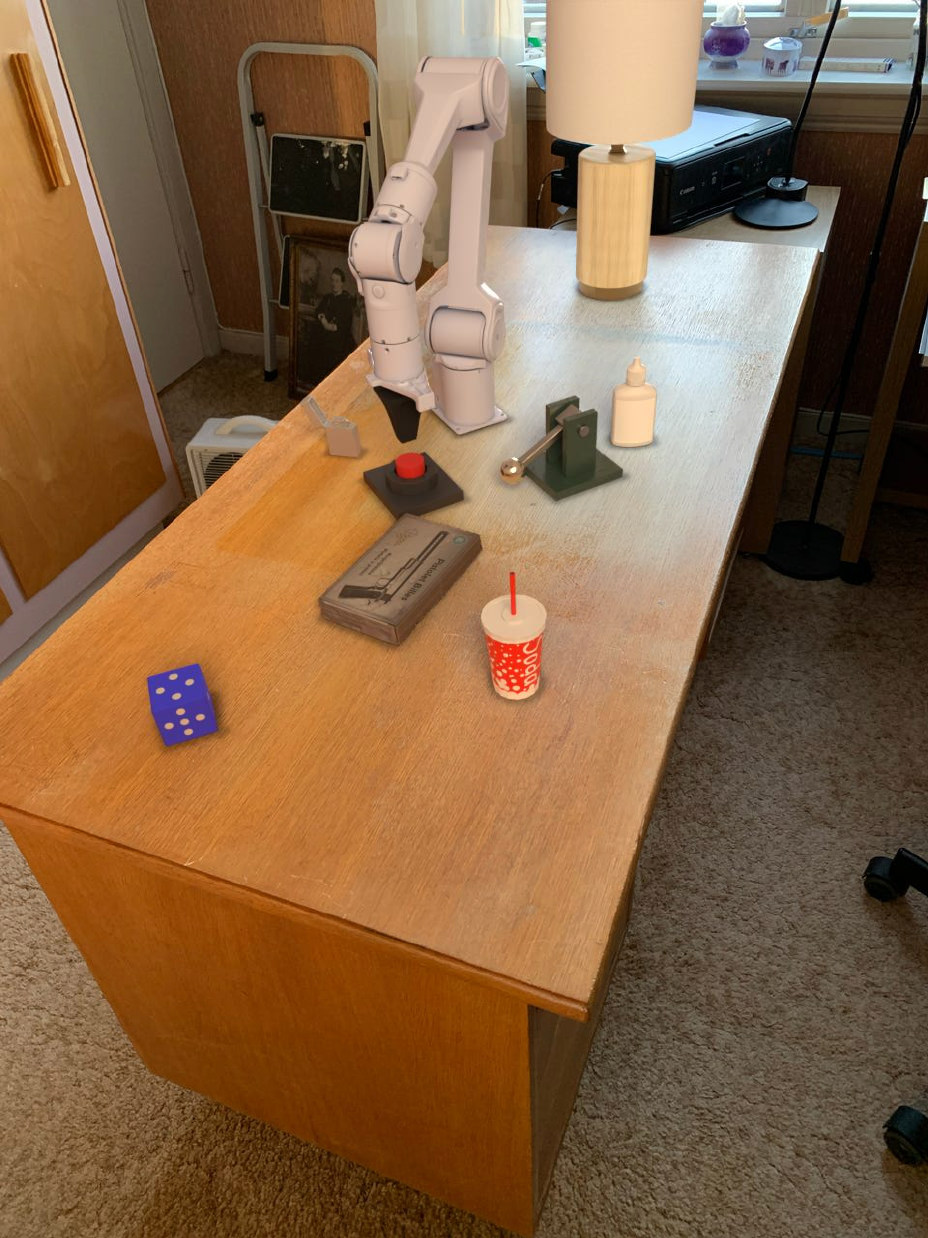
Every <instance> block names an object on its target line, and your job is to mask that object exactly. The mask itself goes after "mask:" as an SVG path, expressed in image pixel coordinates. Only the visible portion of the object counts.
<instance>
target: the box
mask: <svg viewBox="0 0 928 1238" xmlns="http://www.w3.org/2000/svg"><path fill="white" fill-rule="evenodd" d="M481 539H482V538H481V535H480V534H479V533H476V532H475V531H473V532H472V531H469V530H464V529H462V528H459V527H455V526H451V525H448V524H445V523H441V522H437V521H434V520H430V519H428V518H424V517H421V516H415V515H411V514H408V513H406V514H404V515H403V516H402V517H401V518H400V519H398V520H396V521H395V522H394V523H393V524H392V525H391V526H390V527H389V528H388V529H387V530H386V531H385V532H384V533H383V534H382V535H381V536H380V537H379V538H378V540H376V541H375V542H374V543H373V544H372V545H371V546H370V547H369V548H368V549H367V550H366V551H365V552H364V553H363V554H362V555H361V556H360V557H358V559H357V560H356V561H355V562H354V563H352V565H351V566H350V567H349V568H347V570H346V571H345V572H344V573H342V575H340V577H339V578H338V579H336V581H334V582H333V583H332V584H331V585H330V586H329V587H328V588H327V589H326V590H325V591H324V592H323V593H321V595H320V596H318V598H317V599H316V601H317V603H318V606H317V607H319V608H320V612H321V616H322V618H323V619H324V620H327V621H329V622H332V623H334V624H337V625H339V626H340V625H341V626H342V627H345V628H347V629H351V630H352V631H356V632H359V633H361V634H364V635H367V636H369V637H372V638H375V639H378V640H380V641H383V642H386V643H388V644H391V645H395V646H400V645H401V643H403V642H404V641H405V640H406V638H407V637H408V636H409V635H410V634H411V632H412V631H413V630H415V628H416V627H417V624H418V623H420V622H421V621H422V620H424V618H425V616H426V613H428V612H429V611H430V610H431V609H432V608H433V607H434V606H435V605H437V604H438V603H439V602H440V599H443V597H444V596H445V594H446V593H447V591H448V590H449V589H450V588H451V587H452V586H453V585H454V584H455V582H457V581H458V579H459V578H460V577H461V576H462V574H463V573H465V572H466V571H467V569H468V567H470V565H471V564H472V563H473V562H474V561H475V560H476V558H478V556H479V555H480V554H481V552H483V545H482V540H481Z"/></svg>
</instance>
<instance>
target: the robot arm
mask: <svg viewBox="0 0 928 1238" xmlns="http://www.w3.org/2000/svg"><path fill="white" fill-rule="evenodd" d="M413 75H414V76H413V98H414V106H415V110H416V114H415V117H414V121H413V125H412V128H411V130H410V131H411V132H410V135H409V139H408V142H407V145H406V149H405V153H404V156H403V160H402V161H399V162H396V163H394V164H392V165H391V166H390V167H389V168H388V170H387V173H386V176H385V178H384V181H383V183H382V185H381V187H380V190H379V193H378V195H377V197H376V199H375V202H374V205H373V208H372V210H371V212H370V215H369V217H368V220H367V221H363V223H361V224H360V225H359V226H356V227H355V228H354V229H353V231H352V233H351V235H350V238H349V242H348V257H347V263H348V267H349V270H350V272H351V274H352V276H353V277H354V279H355V282H356V284H357V291H358V293H359V295H360V296H362V297H363V298H364V305H365V312H366V320H367V327H368V334H369V341H370V342H369V343H370V347H369V348H367V349H366V353H367V360H368V361H367V362H368V364H369V365H370V367H371V369H372V372H371V373H369V374H366V375H365V382H366V384H367V385H369V386H370V387H372V389H373V391H374V393H375V394H376V396H377V397H378V398H379V400H380V402H381V403H382V405H383V407H384V410H385V411H386V414H387V416H388V419H389V421H390V424H391V427H392V429H393V432H394V435H395V437H396V439H397V440H398V441H399V443H400V444H402V445H403V444H406V443H410V442H412V441H416V440H417V438H418V433H419V428H420V421H421V416H422V413H423V412H426V411H429V410H431V412H433V414H435V415H436V416H437V417H438V418H439V419H440V420H441V421H442V422H443V423H445V424H446V425H447V427H449V428H450V429H451V430H452V431H453V432H454V433H455V434H456V435H459V436H461V435H464V434H468V433H470V432H473V431H476V430H479V429H480V430H481V429H483V428H485V427H488V426H491V425H496V424H498V423H501V422H504V421H506V420H507V419H508V415H507V414H505V412H504V411H502V410H501V409H499V407H497V406H496V399H495V398H496V397H495V394H496V393H495V376H494V375H495V374H494V373H495V372H494V362H495V361H496V360H497V359H498V358H499V357H500V356H501V354H502V352H503V350H504V347H505V342H506V335H507V334H506V329H507V328H506V322H505V304H504V303H505V302H504V301H503V300H502V299H501V298H500V297H499V296H498V295H497V294H496V293H495V292H494V291H492V289H491V288H489V286H488V285H487V284H486V270H487V267H486V266H487V255H488V254H487V252H488V238H489V237H488V235H489V221H490V220H489V219H490V201H491V186H492V174H493V173H492V171H493V157H494V148H495V147H494V146H495V143H496V142H497V141H499V140H502V139H503V138H505V137H506V130H507V126H508V115H509V101H510V100H509V99H510V80H509V77H508V72H507V68H506V66H505V64H504V63H503V61H502V59H501V57H499V56H496V55H495V56H490V57H463V56H461V57H459V56H457V57H456V56H455V57H454V56H433V55H424V56H422V58H421V59H420V61H419V62H418V64H417V66H416V68H415V71H414V74H413ZM449 146H450V147H451V149H452V166H451V167H452V168H451V169H452V170H451V185H450V186H451V188H450V189H451V191H450V210H449V212H450V213H449V234H448V253H447V254H448V257H447V274H446V275H447V277H446V278H447V280H446V284H445V285H444V286H443V287H441V288H439V290H437V291H435V292H434V293H433V294H432V296H431V297H430V298H429V301H428V310H427V315H426V317H425V322H424V326H423V328H424V329H423V338H424V344H425V346H426V348H427V350H428V352H429V353H430V354H432V355H434V357H433V360H432V363H431V377H432V387H433V389H432V388H431V386H430V383H429V378H428V375H427V374H428V373H427V369H426V365H425V364H424V360H423V359H424V358H423V350H422V348H423V347H422V339H421V329H420V318H419V317H420V316H419V308H418V298H417V288H416V278H417V277H418V275H419V273H420V271H421V268H422V264H423V263H422V262H423V251H424V249H423V248H424V246H425V245H424V244H425V239H426V236H425V234H424V232H423V231H424V229H425V226H426V223H427V221H428V218H429V216H430V213H431V211H432V209H433V204H434V203H435V200H436V197H437V194H438V185H437V182H436V180H435V178H434V174H435V173H436V171H437V169H438V167H439V165H440V163H441V160H443V157H444V155H445V153H446V151H447V149H448V147H449ZM462 308H463V309H462ZM472 309H473V310H472Z"/></svg>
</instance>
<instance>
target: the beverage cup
mask: <svg viewBox="0 0 928 1238" xmlns="http://www.w3.org/2000/svg"><path fill="white" fill-rule="evenodd" d="M509 586H510V587H509V594H504V595H500V596H498V597H496V598H494V599H492V600H490V601H489V602H488V603H487V604H486V605H485V606H484V607H483V608H482V611H481V615H480V621H481V626H482V629H483V632H484V634H485V638H486V639H485V641H486V646H487V652H488V658H489V659H488V660H489V667H490V673H491V679H492V680H491V682H492V685H493V689H494V691H495V692H496V693H497V694H498V695H499V696H501V697H503V698H505V699H507V700H516V701H519V700H524V699H527V698H529V697H531V696H533V695H534V694H535V693H536V692H537V691H538V689H539V685H540V679H541V663H542V651H543V639H544V638H543V637H544V630H545V629H546V625H547V618H548V612H547V610H546V608H545V606H544V605H543V604H542V602H540V601H538V600H537V599H536V598H534V597H531V596H528V595H525V594H518V593H517V594H516V591H517V589H516V572H515V571H510V572H509Z"/></svg>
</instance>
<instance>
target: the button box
mask: <svg viewBox="0 0 928 1238" xmlns="http://www.w3.org/2000/svg"><path fill="white" fill-rule="evenodd" d="M419 454H421V455H422V456H423V457H424V464H425V473H424V474H423V475H422V476H419V477H416V478H402V477H399V476H398V475H397V471H396V463H395V460H396V458H395V459H393V460H391V462H389V463H386V464H384V465H380V466H378V467H373V468H371V469H368V470H365V471H363V472H362V475H363V481H364V482H365V483H366V485H367V486H368V487H369V488H370V489H371V490H372V492H373V493H374V494H375V495H376V497H377V498H378V499H379V500H380V501H381V503H382V504H383V505H384V506H385V507H386V508H387V510H388V511H389V513H391V515H392V516H393V517H394V518H395V519H396V521H398V519H400V518H401V517H402V516H403V515H404V514H406V513H408V514H411V515H415V516H418V517H421V516H422V515H425V514H428V513H431V512H433V511H436V510H440V509H442V508H445V507H448V506H451V505H453V504H456V503H460V502H462V501H464V500H465V496H464V495H465V494H464V490H463V489H462V488H461V486H460V485H458V484H457V482H455V481H454V480H453V479H452V477H450V476H449V475H448V474H447V472H446V471H445V470H443V469H442V467H441V466H440V465H438V463H436V462H435V460H434V459H433V458H432V457H431V456H430V455H429V454H428V453H427V452H426V451H423V452H419Z"/></svg>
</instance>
